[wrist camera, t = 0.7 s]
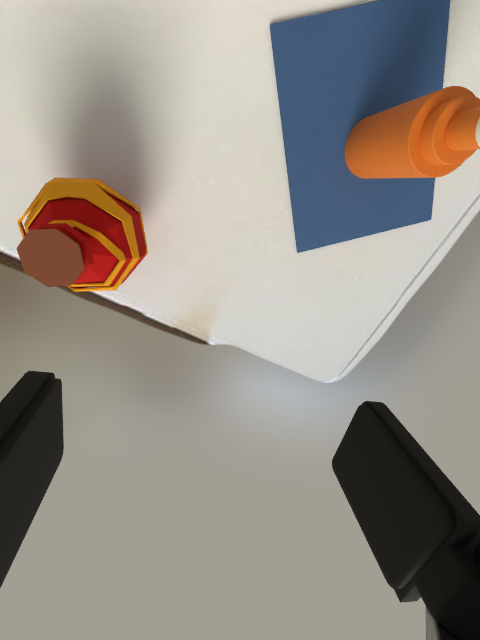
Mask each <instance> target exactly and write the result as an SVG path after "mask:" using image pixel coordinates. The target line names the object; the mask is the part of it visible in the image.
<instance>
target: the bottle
mask: <svg viewBox="0 0 480 640" xmlns="http://www.w3.org/2000/svg"><path fill="white" fill-rule="evenodd" d="M477 149H480V99H479V98H477V97H476V96H475V95H474V94H473V93H472V92H471V91H470V90H468V89H466V88H464V87H460V86H451V87H446V88H444V89H441V90H438V91H436V92H433V93H430V94H428V95H425V96H422V97H420V98H417V99H414V100H412V101H409V102H406V103H403V104H401V105H398V106H395V107H393V108H390V109H387V110H385V111H382V112H379V113H377V114H374V115H371V116H369V117H366V118H364V119H362V120H361V121H360V122H358V123H357V124H356V125H355V126H354V128H353V129H352V131H351V132H350V134H349V136H348V138H347V141H346V145H345V160H346V164H347V166H348V168H349V170H350V171H351V172H352V173H353V174H354V175H355V176H357V177H359V178H364V179H374V178H434V177H441V176H444V175H447V174H449V173H450V172H452V171H454V170H455V169H456V168H458V167H459V166H460V165H461V164H462V163H463V162H464V161H465V160H466V159H467V158H469V157H470V156H471V155H472V154H473V153H474V152H475V151H476V150H477Z"/></svg>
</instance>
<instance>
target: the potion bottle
mask: <svg viewBox="0 0 480 640" xmlns="http://www.w3.org/2000/svg"><path fill="white" fill-rule="evenodd" d="M133 207H134V208H136V209H137V210H139V212H138V211H137V210H135V209H134V208H133ZM30 210H31V211H30ZM29 211H30V213H29V215H28V216H27V217H28V218H27V220H26V222H25V224H24V225H25V228H26V231H27V234H26V232H25V229H24V227H23V225H22V222H21V221H22V220H23V218H24V217H25V216H26V215H27V214H28V212H29ZM18 224H19V227H20V230H21V233H22V236H23V240H22V241H21V243H20V244H19V246H18V247H17V251H18V254H19V257H20V259H21V262H22V265H23V268H24V271H25V272H26V273H27V274H29V275H30V276H32V277H33V278H35V279H37V280H38V281H40V282H41V283H43V284H44V285H46V286H48V287H50V286H51V287H52V286H68V287H69V288H70V289H72V290H73V291H102V290H116V289H117V288H118V287H119V285H121V284H122V283H123V282H124V281H125V280H126V279H127V277H128V276H129V275H130V274H131V273H132V271H133V270H134V269H135V268H136V267H137V265H138V264H139V263H140V262H141V261H142V259H143V258H144V257H145V256H146V255H147V253H148V250H147V244H146V239H145V233H144V228H143V222H142V216H141V211H140V208H139V207H137V206H136V205H135V204H133V203H132V202H130V201H129V200H127V199H126V198H125V197H123V196H122V195H120V194H119V193H118V192H116V191H115V190H113V189H112V188H110V187H109V186H108V185H106V184H105V183H104V182H102V181H100V180H99V179H81V178H54V179H52V180H51V181H49V182H47V183H46V184H45V185H44V186H43V188H42V189H41V191H40V192H39V194H38V195H37V196H36V198H35V199H34V201H33V202H32V203H31V205H30V206H29V208H28V209H27V211H26V212H25V213H24V215H23V216H22V217H21V218H20V219H19V220H18ZM28 230H29V231H28ZM73 287H76V288H81V289H75V288H73ZM89 287H95V288H89Z"/></svg>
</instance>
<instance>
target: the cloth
mask: <svg viewBox="0 0 480 640" xmlns="http://www.w3.org/2000/svg"><path fill="white" fill-rule="evenodd" d="M449 8H450V0H380V1H375V2H370V3H366V4H361V5H357V6H352V7H348V8H343V9H339V10H334V11H330V12H325V13H320V14H316V15H311V16H307V17H302V18H298V19H293V20H289V21H284V22H280V23H275V24H271V25H270V31H271V40H272V48H273V56H274V65H275V73H276V81H277V89H278V98H279V106H280V114H281V122H282V131H283V139H284V147H285V156H286V164H287V172H288V180H289V189H290V197H291V205H292V213H293V222H294V230H295V238H296V247H297V252H298V253H299V252H303V251H307V250H311V249H315V248H319V247H323V246H327V245H331V244H335V243H339V242H343V241H347V240H351V239H355V238H359V237H363V236H367V235H371V234H376V233H380V232H384V231H388V230H392V229H396V228H400V227H404V226H408V225H412V224H416V223H420V222H424V221H428V220H431V215H432V204H433V192H434V181H435V177H434V178H374V179H364V178H359V177H357V176H355V175H354V174H353V173H352V172H351V171H350V170H349V168H348V166H347V164H346V160H345V145H346V141H347V138H348V136H349V134H350V132H351V131H352V129H353V128H354V126H355V125H356V124H357V123H358V122H360V121H361V120H362V119H364V118H366V117H369V116H371V115H374V114H377V113H379V112H382V111H385V110H387V109H390V108H393V107H395V106H398V105H401V104H403V103H406V102H409V101H412V100H414V99H417V98H420V97H422V96H425V95H428V94H430V93H433V92H436V91H438V90H441V89H443V77H444V66H445V54H446V43H447V31H448V20H449Z"/></svg>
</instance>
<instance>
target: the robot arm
mask: <svg viewBox="0 0 480 640" xmlns="http://www.w3.org/2000/svg"><path fill="white" fill-rule="evenodd" d="M62 415H63V414H62V383H61V379H55V375H54V374H53V373H48V372H38V371H28V372H27V373H25V374H24V376H23V377H22V378H21V379H20V380H19V381H18V382H17V384H16V385H15V386H14V387H13V388H12V389H11V391H10V392H9V393H8V394H7V395H6V396H5V398H3V400H2V401H1V402H0V587H1V586H2V583H3V581H4V579H5V577H6V575H7V573H8V571H9V569H10V567H11V564H12V562H13V560H14V558H15V556H16V554H17V552H18V550H19V548H20V546H21V544H22V541H23V539H24V537H25V535H26V533H27V531H28V529H29V527H30V524H31V523H32V520H33V518H34V516H35V514H36V512H37V510H38V508H39V506H40V503H41V501H42V500H43V497H44V495H45V493H46V491H47V489H48V487H49V485H50V483H51V480H52V478H53V476H54V474H55V472H56V470H57V468H58V466H59V463H60V461H61V459H62V455H63V449H64V446H63V416H62ZM332 467H333V471H334V473H335V475H336V477H337V479H338V481H339V483H340V485H341V487H342V489H343V491H344V494H345V496H346V498H347V500H348V502H349V504H350V506H351V508H352V510H353V512H354V514H355V517H356V519H357V521H358V523H359V525H360V527H361V529H362V531H363V533H364V535H365V537H366V540H367V542H368V544H369V546H370V548H371V550H372V552H373V554H374V556H375V558H376V560H377V562H378V565H379V567H380V569H381V571H382V573H383V575H384V577H385V579H386V581H387V583H388V584H389V585H390V586H391V587H392V588H393V589H394V590H395V592H396V595H397V597H398V598H399V601H400V602H411V601H417V600H418V599H419V598H420V597H421V598H422V599H423V601H424V603H425V605H426V640H480V515H479V514H478V513H477V512H476V511H475V509H474V508H473V507H472V506H471V505H470V503H469V502H468V501H467V500H466V499H465V498H464V496H462V494H461V493H460V492H459V491H458V489H457V488H456V487H455V486H454V485H453V484H452V482H451V481H450V480H449V479H448V478H447V477H446V475H445V474H444V473H443V472H442V471H441V470H440V468H439V467H438V466H437V465H436V464H435V462H434V461H433V460H432V459H431V458H430V457H429V455H428V454H427V453H426V452H425V451H424V450H423V449H422V447H421V446H420V445H419V444H418V442H417V441H416V440H415V439H414V438H413V437H412V435H411V434H410V433H409V432H408V431H407V430H406V428H405V427H404V426H403V425H402V424H401V423H400V421H399V420H398V419H397V418H396V417H395V416H394V414H393V413H392V412H391V411H390V410H389V408H388V407H387V406H386V405H385V404H384V403H381V402H372V401H365V402H363V404H362V405H360V406H359V407H358V408H357V411H356V413H355V414H354V417H353V418H352V421H351V423H350V425H349V427H348V429H347V431H346V433H345V435H344V437H343V439H342V441H341V443H340V445H339V447H338V449H337V451H336V453H335V455H334V457H333V460H332Z"/></svg>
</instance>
